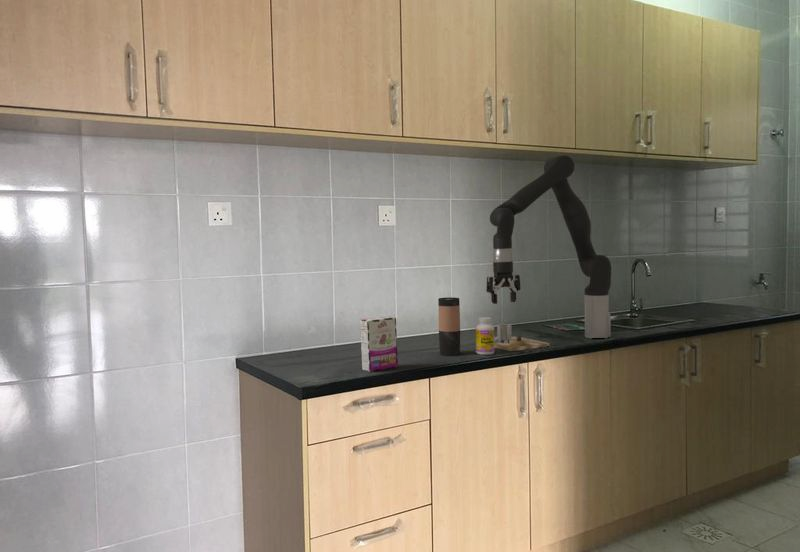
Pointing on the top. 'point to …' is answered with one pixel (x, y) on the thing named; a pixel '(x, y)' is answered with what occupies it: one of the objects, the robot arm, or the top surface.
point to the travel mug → (449, 326)
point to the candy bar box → (379, 343)
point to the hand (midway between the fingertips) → (503, 302)
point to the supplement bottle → (484, 336)
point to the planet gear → (504, 334)
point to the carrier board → (514, 348)
